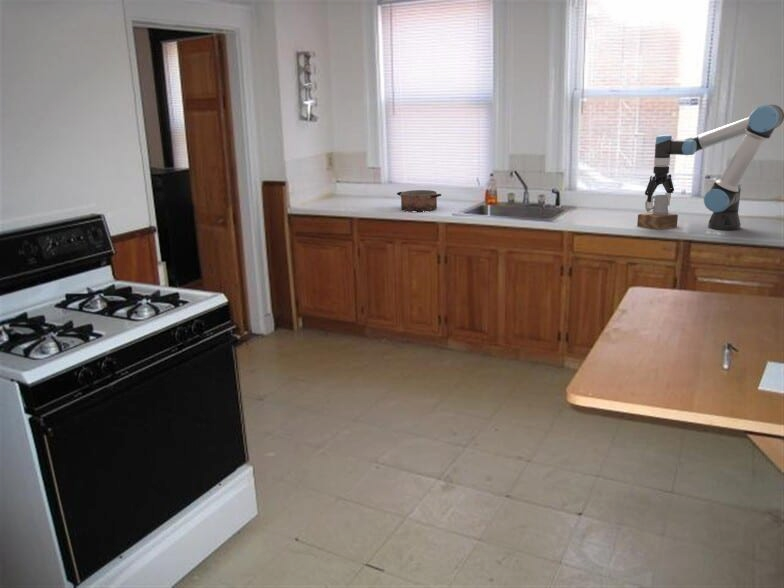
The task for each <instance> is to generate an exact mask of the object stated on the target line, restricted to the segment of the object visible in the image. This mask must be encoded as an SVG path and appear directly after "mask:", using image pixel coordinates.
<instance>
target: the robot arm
mask: <svg viewBox="0 0 784 588" xmlns="http://www.w3.org/2000/svg"><path fill="white" fill-rule="evenodd" d="M783 122H784V110H783V108H782V107H780V106H779V105H777V104H765V105H761V106H758V107H756V108H755V109H754V110H753V111H752V112H751V113H750V115H749V116H748V117H745V118H742V119H738V120H737V121H734V122H731V123H728V124H725V125H723V126H720V127H718V128H715V129H712V130H709V131H706V132H703V133H701V134H698V135H694V136H692V137H689V138H684V139H675V138H673V137H672V135H670V134H668V135H667V134H661V135H657V136H656V137H655V144H654V160H653V161H654V162H653V165H654V166H653V174H654V176H653V175H650V177H649V182H648V184H647V186H646V188H645V191H644V195H645V196H647V197H646V198H647V199H646V200H647V202H648V203H647V208H651V209H652V207H653V206H654V198H653V196H654V195H653V194H654V193H655V192H656V190H657V187H659V186H660V185H662V187H663V188H664V190H665V193H664V195H668V201H669V203H668V207H669V206H670V205H671V204H670V203H671V198H672V196H671V195H672V194H673V193H674V191H675V188H674V183H673V180H672V174H670V165H671V164H670V163H671V156H672V155H674V156H675V155H677V156H678V155H679V156H694V155H695V154H696V153H697V152H698V151H701V150H704V149H707V148H710V147H714V146H716V145H718V144H721V143H725V142H727V141H731V140H733V139H735V138H738V137H741V136H742V137H743V138H742V140H741V141H740V144H739V145H738V147H737V149H736V150H735V152H734V154H733V156H731V159H730V161H729V162H728V165H727V166H726V167H725V170H723V171H724V172H723V173H722V175H721V177H720V178H719V179H716V180H715V181H714V183H713V184H712V186H711V188H710V189H709V190H708V191H707V192H706V193H705V195H704V197H703V202H704V206H705V207H706V209H707V210H709V211H710V212H712V214H711V216H710V219H709V221H708V224H707V227H708V228H710V229H713V230H720V231H721V230H722V231H735V230H736V231H737V230H740V229H741V225H742V224H741V219H740V216H739V207H740V201H741V192H742V186H741V185H742V184H740V182H741V181H742V179H743V178H744V176H745V174H746V172H747V170H748V169H749V167H750V165H751V164H752V162H753V160H754V158H755V156H756V155H757V153H758V152H759V149H760V148H761V146H762V144H763V143H764V141H767V140H769V139H770V138H771V136H772V134H773V133H774V131H775V129H777V128H779V127H780V126H781V125H782V124H783ZM652 210H653V209H652Z"/></svg>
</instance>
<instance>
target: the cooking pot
mask: <svg viewBox="0 0 784 588" xmlns="http://www.w3.org/2000/svg"><path fill="white" fill-rule="evenodd" d="M396 195H397V196H400V200H401V203H400V204H401V205H400V206H401V207H400V208H401V209H400V210H402V211H403V210H405V211H404V212H406V211H417V212H416V213H426V212H425V211H429V212H433V211H436V210H437V209H438V202H437V200H438V197H441V196H442V193H437V191H436V190H435V191H434V190H430V189H427V190H425V189H416V190H415V189H414V190H413V189H412V190H406V191H398V192H396ZM423 211H424V212H423Z"/></svg>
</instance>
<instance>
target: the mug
mask: <svg viewBox="0 0 784 588" xmlns="http://www.w3.org/2000/svg"><path fill="white" fill-rule="evenodd" d="M652 196H653V199H654V200H653V207H652V209H651V208H647V203H648V202H647V199H646V200H645V202H644V204H645V205H644V207H645V210H646V213H648V212H651V211H652V212H653V214H654V215H667V214H668V213H669V210H668V209H669V206H668V203H669V201H668V195H665V194H656V195H652Z"/></svg>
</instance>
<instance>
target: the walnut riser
mask: <svg viewBox="0 0 784 588" xmlns="http://www.w3.org/2000/svg"><path fill="white" fill-rule="evenodd" d="M678 217H679V214H677V213H671V212H670V213H669V212H668V214H667V215H654V214H653V211H649V212H643V213H639V214H637V227H641V226H642V227H643V228H647V227H648V228H647V229H652V228H654V229H653V230H658V229H661V230H665V228H666V229H670V227H671V228H676V227H678ZM642 227H641V228H642Z"/></svg>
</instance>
